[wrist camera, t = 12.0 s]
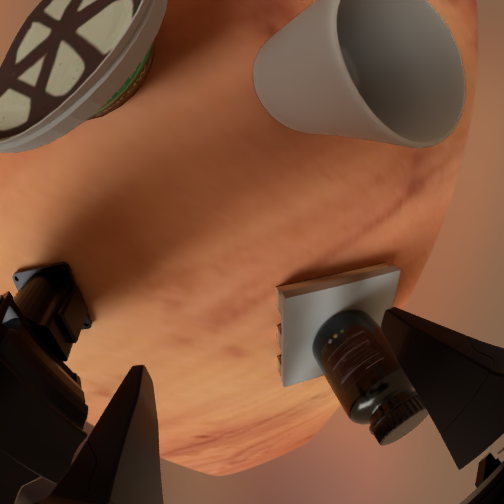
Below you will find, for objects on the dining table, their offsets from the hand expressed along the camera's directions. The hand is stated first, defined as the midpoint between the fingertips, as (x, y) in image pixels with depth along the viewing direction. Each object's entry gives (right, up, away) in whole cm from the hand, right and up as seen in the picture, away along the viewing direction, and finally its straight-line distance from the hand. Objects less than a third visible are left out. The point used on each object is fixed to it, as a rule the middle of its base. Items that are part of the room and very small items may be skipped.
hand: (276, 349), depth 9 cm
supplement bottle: (+8, -5, +17) cm, 19 cm away
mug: (+4, +18, +8) cm, 20 cm away
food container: (-10, +15, +5) cm, 19 cm away
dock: (+7, -4, +19) cm, 20 cm away
